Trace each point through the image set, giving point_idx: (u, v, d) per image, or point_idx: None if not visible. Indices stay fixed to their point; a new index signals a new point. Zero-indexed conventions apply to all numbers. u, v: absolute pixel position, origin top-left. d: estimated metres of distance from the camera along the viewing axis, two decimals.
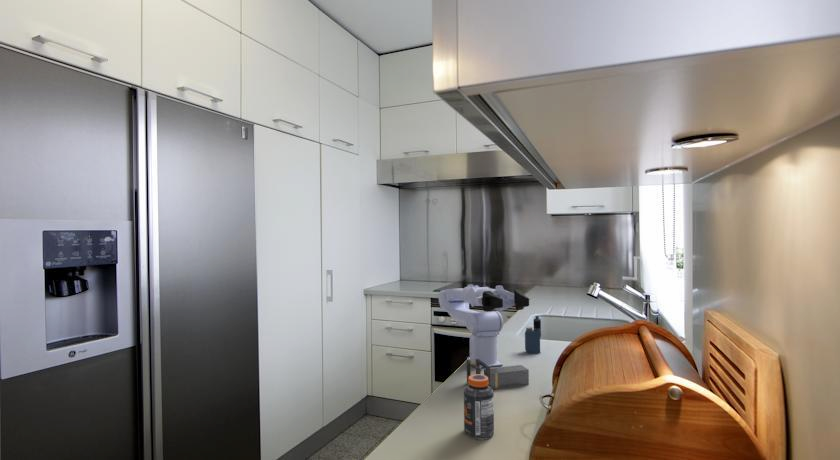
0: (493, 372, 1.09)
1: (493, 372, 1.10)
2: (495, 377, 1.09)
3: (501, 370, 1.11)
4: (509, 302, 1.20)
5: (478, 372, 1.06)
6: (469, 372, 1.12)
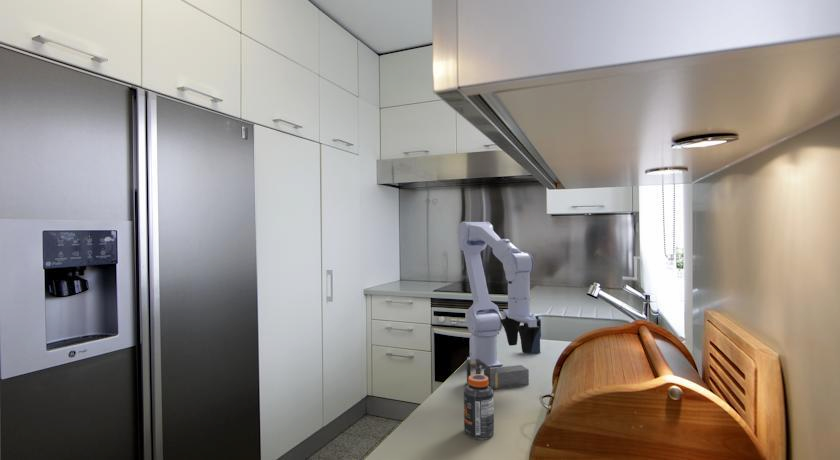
0: (493, 372, 1.09)
1: (493, 372, 1.10)
2: (495, 377, 1.09)
3: (501, 370, 1.11)
4: None
5: (478, 372, 1.06)
6: (469, 372, 1.12)
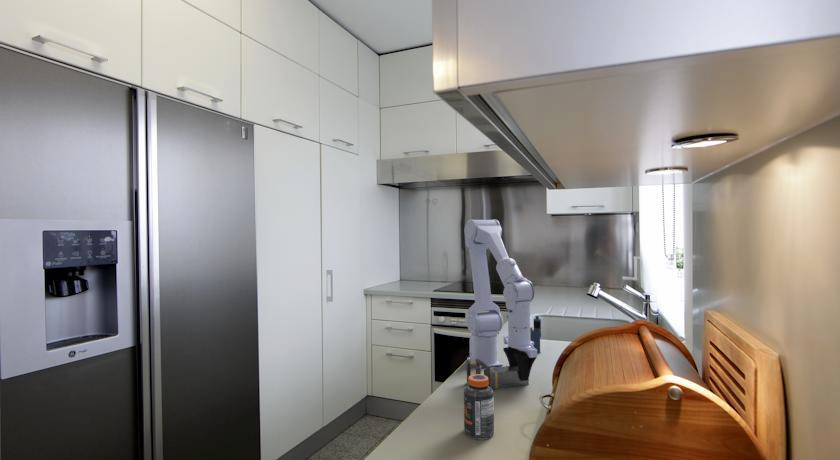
0: (493, 372, 1.09)
1: (493, 371, 1.10)
2: (495, 377, 1.09)
3: (501, 370, 1.11)
4: None
5: (478, 372, 1.06)
6: (469, 372, 1.12)
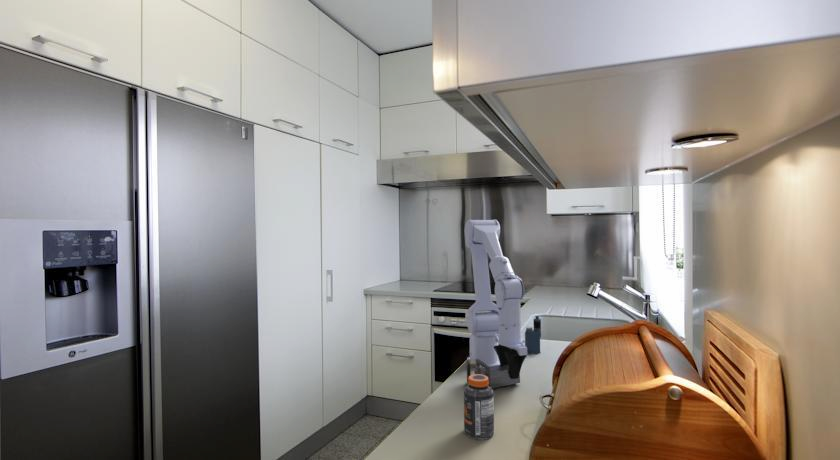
0: (483, 372, 1.09)
1: (484, 372, 1.09)
2: None
3: (491, 370, 1.10)
4: None
5: (478, 372, 1.06)
6: (469, 372, 1.12)
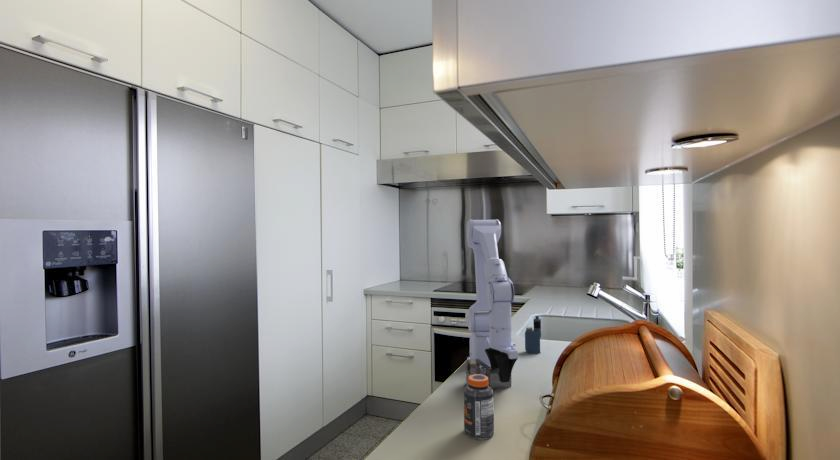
0: None
1: (475, 373, 1.08)
2: None
3: (483, 372, 1.10)
4: None
5: (478, 372, 1.06)
6: None
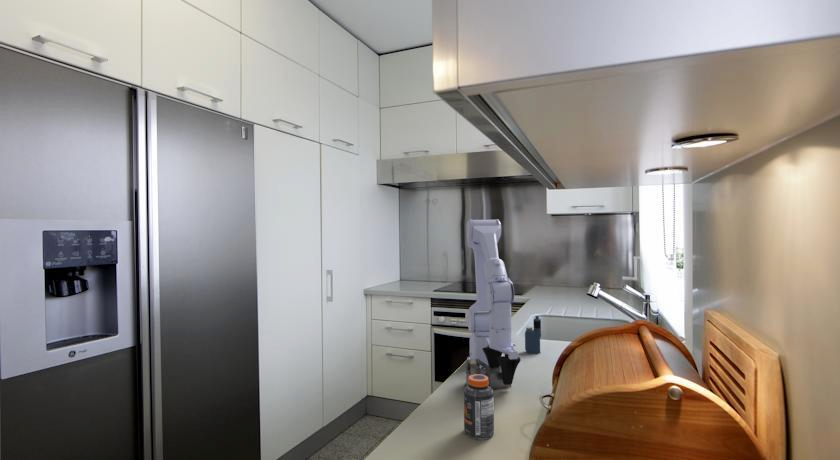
0: None
1: None
2: None
3: (483, 372, 1.10)
4: None
5: (478, 372, 1.06)
6: None
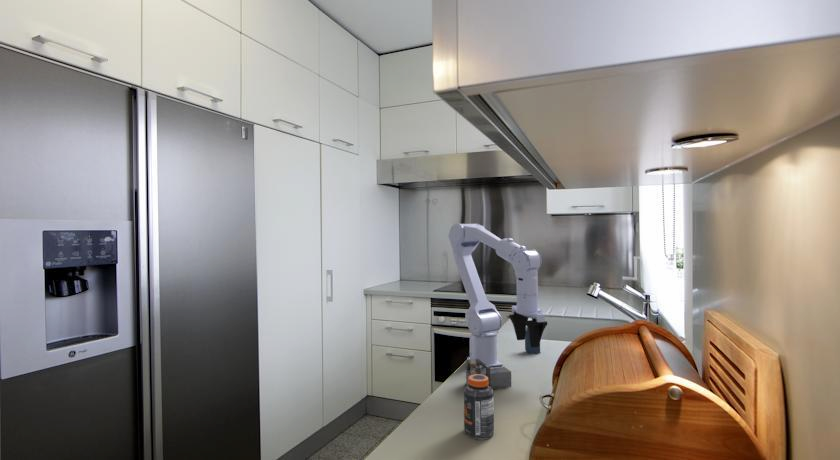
0: None
1: None
2: None
3: (483, 372, 1.10)
4: None
5: (478, 372, 1.06)
6: None
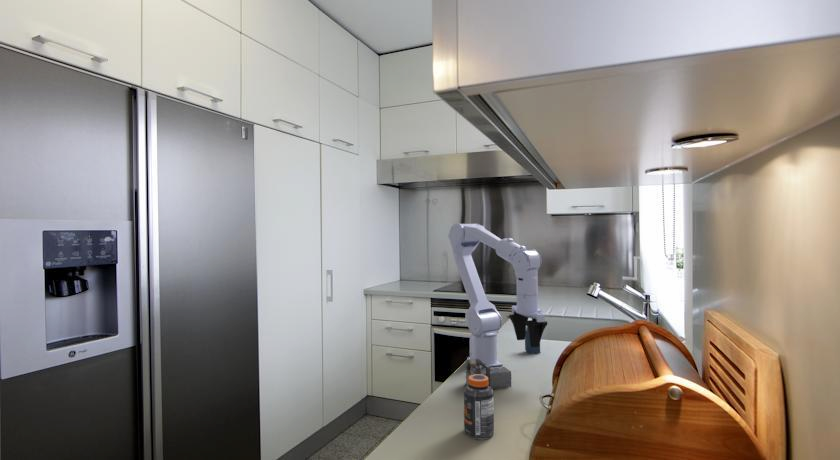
0: None
1: None
2: None
3: (483, 372, 1.10)
4: None
5: (478, 372, 1.06)
6: None
